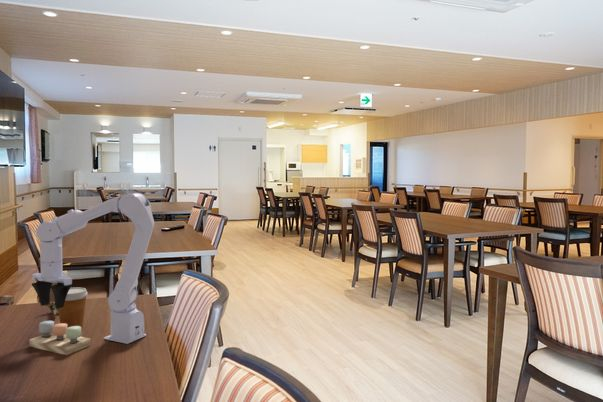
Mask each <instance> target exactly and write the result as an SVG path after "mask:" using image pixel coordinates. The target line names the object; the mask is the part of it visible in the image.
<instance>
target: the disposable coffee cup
mask: <svg viewBox="0 0 603 402" xmlns="http://www.w3.org/2000/svg"><path fill="white" fill-rule="evenodd" d="M88 293H89V292H88V291H87V289H86V288H85V287H77V286H76V287H74V286H73V287H71V288H70V289H69V291H68V293H67V296H66V299H65V303H64V307H62V308H58V311H57V313H58V317H59V324H60V323H66V324H67V328H68V327H72V326H80V327H81V328H82V327H83V326H84V325H83V324H84V319H85V309H86V302H87V301H86V300H87V297H88Z"/></svg>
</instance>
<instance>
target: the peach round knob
mask: <svg viewBox="0 0 603 402" xmlns="http://www.w3.org/2000/svg"><path fill="white" fill-rule="evenodd" d="M66 328H67V324H66V323H60V322H59V323H56V324H55V323H54V325H53V326H52V333H53V336H57V341H61V340H64V335H65V334H66Z"/></svg>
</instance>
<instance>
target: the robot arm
mask: <svg viewBox="0 0 603 402" xmlns="http://www.w3.org/2000/svg"><path fill="white" fill-rule="evenodd" d="M151 205H152V204H151V202H150V201H149V199H148V198H147V197H146V196H145V195H144V194H143V193H140V192H134V193H126V194H124V195H121V196H117V197H112V198H109V199H107V200H105V201H103V202H100V203H99V204H96V205H95V206H92V207H90V208H88V209H86V210H84V211H82V210H79V209H75V210H74V209H73V208H72V209H70V210H67V211H66V212H67V213H65V214H63V215H60V216H54V217H52V220H50V221H43V222H42V223H40V224H39V225H38V226H37V228H36V231H35V232H36V237H37V238H38V239H39V241H40V242H39V244H40V246H39V247H40V250H39V251H40V252H39V253H40V255H39V256H40V258H39V259H40V272H37V273H32V274H31V279H32V281H33V282H32V283H31V287H32V288H33V289H34V291H35V292H36V294H37V297H38V300H39V304H40V306H46V305H48V304H49V301H50V296H51V293H50V292H51V290H52V293H53V297H54V304H55V307H56V308H57V309H58V308H62V307H64V303H65V299H66V296H67V293H68V291H69V289H70V288H72V285H73V277H69V276H67V275H64V273H63V237H64V236H68V235H70V234H71V233H74V232H76V231H79V230H81V229H83V228H85V227H87V225H88V222H89V221H91V220H93V219H94V220H95V219H96V218H99V217H102V216H104V215H106V214H109V213H112V212H113V213H122V214H123V215H124V216H126V217H127V218H128V219H129V220H131V223H133V225H134V227H135V229H134V232H133V236H132V239H131V243H130V246H129V249H128V252H127V255H126V257H125V262H124V265H123V267H122V271H121V274H120V276H119V278H118V281H117V282H116V284H115V287H114V289H113V290H112V292H111V293H110V294H109V295H108V297H107V304H108V307H109V308H110V309H109V310H110V334H109V335H107V336H103V340H107V341H113V342H117V343H122V344H126V345H128V344H130V343H133V342H134V341H137V340H139V339H142V338H144V337H146V336H147V334H146V333H145V314H144V312H143V311H141V310H139V309H138V308H137V305H136V303H135V301H136V299H137V297H138V294H139V293H138V285H139V280H138V279H139V275H140V272H141V269H142V266H143V263H144V260H145V257H146V253H147V250H148V248H149V244H150V240H151V237H152V235H153V231H154V229H155V220H154V216H153V212H152V207H151ZM34 281H35V282H34Z"/></svg>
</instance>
